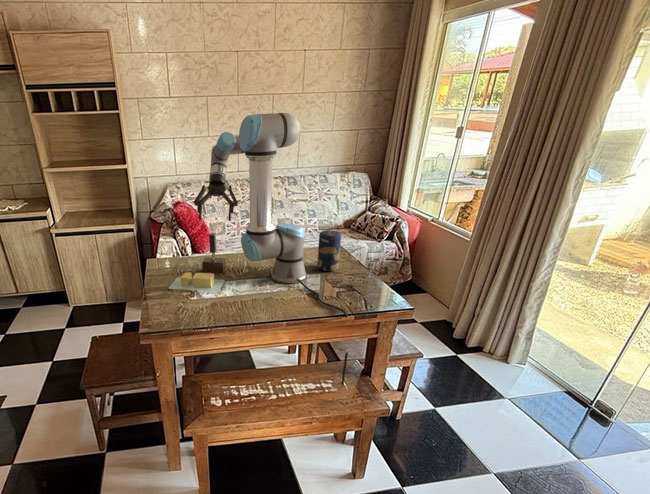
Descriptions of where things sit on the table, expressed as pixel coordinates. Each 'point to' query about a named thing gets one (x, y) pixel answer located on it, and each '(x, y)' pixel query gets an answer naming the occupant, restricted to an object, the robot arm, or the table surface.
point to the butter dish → (215, 287)
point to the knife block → (214, 265)
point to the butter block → (203, 280)
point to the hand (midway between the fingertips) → (214, 219)
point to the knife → (212, 245)
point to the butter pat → (186, 279)
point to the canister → (329, 250)
